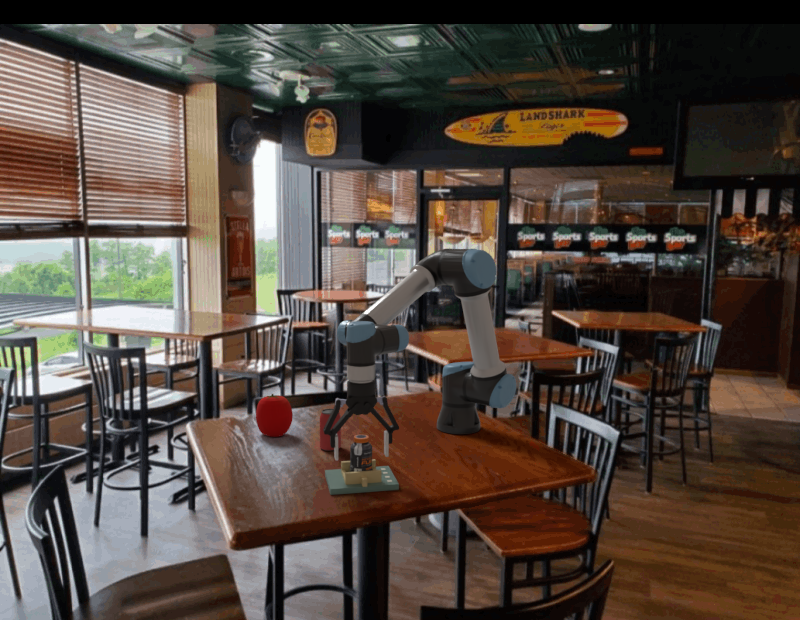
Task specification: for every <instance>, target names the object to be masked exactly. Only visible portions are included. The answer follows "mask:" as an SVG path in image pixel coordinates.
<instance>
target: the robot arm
mask: <svg viewBox="0 0 800 620" xmlns="http://www.w3.org/2000/svg"><path fill="white" fill-rule="evenodd" d="M496 276H497V266H496V263H495V259H494V258H493V256H492V255H491V254H490V253H489V252H487V251H486V250H484V249H478V248H442V249H438V250H437V251H434V252H432V253H430V254H428V255H427V256H425V257H424V258H422V259H421V260H419V261H418V262H417V263H415V264H414V265H413V266H412V267H411V269H410V271H409V274H408V275H406V276H405V277H404V278H402V280H400V281H399V282H398V283H397V284H396V285H394V286H393V287H392V288H391V289H390V290H389V291H386V293H385V294H384V295H382V296H381V297H380V298H379V299H378V300H377V301H375V302H374V303H373V304H371V306H370V307H368V308H366V310H365V311H364V312H362V313H361V314H359V315H358V316H357V317H356V318H355V319H345V320H343V321H341V322H340V323H339V324H338V327H337V330H336V336H337V339H338V342H339V343H340V344H342V345H344V346H346V379H348V380H347V382H346V398H340V397H336V398H335V400H334V406H333V408H332V409H333V410H332V412H331V414H330V416H329V418H328V420H327V422H326V425H325V427H324V429H323V431H324V434H325V435H330V445H331V448H334V451H333V453H334V457H333V458H334V460H335V461H339V449H338V435H337V432H338V431H339V430H340V429H341V430H342V428H343V427H344V425H345V424H346V423H347V422H348V420H349V419H350V418H352V416H353V415H354V416H361V415H364V416H366V415H369V414H370V413H371V414H372V415H373V417H374V418H375V419H376V420H377V421H378V422H379V423H380V424H381V426H383V428H384V429H385V430H384V431H383V444H384V445H383V454H384V456H385V457H386V458H389V456H390V455H389V454H390V453H389V452H390V451H389V448H390V447H389V446H390V445H391V444H393V434H394V432H395V431H399V429H400V427H399V424H398V422H397V420H396V419H395V416H394V414H393V412H392V411H391V408H390V406H389V404H388V398H387V397H386V395H384V394H382V395H381V396H376V381H375V378H376V357H377V356H380V355H386V354H393V353H397V352H403V351H404V350H405V349H406V348H407V347H408V345H409V343H410V334H409V331H408V330H407V328H406V327H405V326H404V325H401V324H395V323H393V324H391V322H392V321H394V320H395V319H396V318H397V317H398V316H399V315H401V314H402V313H403V312H404V311H406V309H408V308H409V307H410V306H411V305H412V304H414V302H415V301H417V300H418V299H419V298H420V297H422V295H424V294H425V293H427V292H428V293H429V292H432V291H433V290H434V289H435V288H437V287H441V286H452V288H453V292H454V296H455V297H457V298H458V299H460V301H461V307H462V311H463V318H464V321H465V323H464V324H465V327H466V332H467V333H466V334H467V336H468V337H467V338H468V343H469V347H470V352H471V357H472V361H460V362H459V361H458V362H457V361H456V362H452V363H447V364H445V365H444V366H443V368H442V375H441V377H442V379H441V382H442V383H441V384H442V388H441V393H442V394H441V395H442V396H441V398H442V400H441V401H442V402H441V409H440V411H439V414H438V417H437V421H436V429H437V430H438V431H441V432H443V433H446V434H451V435H470V434H475V433H477V432H479V431H481V419H480V417H479V413H478V410H477V405H476V404H478V405H483V406H487V407H489V408H493V409H494V408H495V409H504V408H506V407H508V406H509V404H510V403H511V402H512V401H513V399H514V396H515V395H516V392H517V379H516V377H515V375H513V374H511V373H509V372H508V371H507V365H506V363H505V362H504V361H502V360H501V359H500V355H499V350H498V349H499V348H498V344H497V337H496V336H497V335H496V332H495V327H494V321H493V315H492V311H491V304H490V299H489V293H490V292H491V290H492V285H494V284H495V280H496ZM389 324H391V325H389ZM377 404H379V405H380V406H382V407H383V409H384V411H385V413H386V415H387V417H388V419H389V421H390V423H391V424H392V425H390V424H389V423H388V422H387V421H386V420H385V418H384V417H382V415H381V414H380V413H379V412H378V411H377V410H376V408H375V406H376V405H377ZM344 405H346V406H347V408H346V410H345V411H344V413H343V414H342V416H341V418H340V419H339V420H338V422H337V423H336V424H335V425H334V427H333V428H332V429H331V427H332V425H333V423H334V421H335V419H336V417H337V415H338V412H339V413H340V410H341V408H343V407H344Z"/></svg>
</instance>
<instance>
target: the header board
mask: <svg viewBox="0 0 800 620" xmlns="http://www.w3.org/2000/svg"><path fill="white" fill-rule="evenodd" d="M376 463H377V460H376V459H375V458H372V471H357V472H350V460H343V461H342V460H341V461H340V467H341V468H336V469H324V476H325V481H326V483H327V487H328V492H329V494H330V496H331V495H332V496H333V495H335V496H336V495H344V494H345V495H346V494H358V493H359V494H360V493H361V494H362V493H372V492H383V491H384V492H386V491H387V492H388V491H399V490H400V484H399V481H398V479H397V478H396V476H395V475H394V473H393V471H392V469H391V468H390V466H389V465H381V466H377V464H376Z"/></svg>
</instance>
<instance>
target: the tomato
mask: <svg viewBox="0 0 800 620" xmlns="http://www.w3.org/2000/svg"><path fill="white" fill-rule="evenodd" d="M293 413H294V412H293V409H292V406H291V403H290V401H289V400H288V399H287V398H286V397H285V396H283V395H277V394H276V395H275V394H274V393H271V395H263V397H262V398H261V399H260V400H259V401H258V403H257V405H256V411H255V421H256V425H257V428H258V431H259V432H260V433H261V434H262V435H264V436H265V437H270V438H279V437H282V436H284V435H285V434H287V432H288V431H289V430H290V429H291V428H290V427H291V425H292V423H293V418H294V417H293V416H294V415H293Z"/></svg>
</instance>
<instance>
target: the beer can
mask: <svg viewBox="0 0 800 620" xmlns="http://www.w3.org/2000/svg"><path fill="white" fill-rule="evenodd" d="M332 410H333V408H324V409H321V412H320V416H319V448H320V449H321V450H322V451H327V452H334V448H331V445H330V435H325V434H324V431H323V429H324V427H325V425H326V422H327V420H328V418H329V416H330V414H331V412H332ZM341 417H342V416H341V413H340V411H339V412H338V415H337V417H336V419H335V421H334V423H333V425H332V427H331V429H332V428H333V427H334V425H335V424H336V423H337V422H338V420H339V419H340V418H341ZM337 435H338V450H339V449H341V447H342V428H341V429H340V430H339V431H338V432H337Z"/></svg>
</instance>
